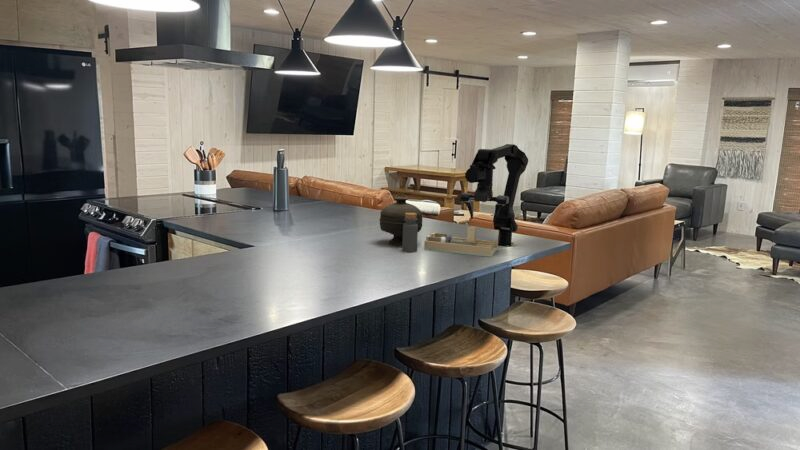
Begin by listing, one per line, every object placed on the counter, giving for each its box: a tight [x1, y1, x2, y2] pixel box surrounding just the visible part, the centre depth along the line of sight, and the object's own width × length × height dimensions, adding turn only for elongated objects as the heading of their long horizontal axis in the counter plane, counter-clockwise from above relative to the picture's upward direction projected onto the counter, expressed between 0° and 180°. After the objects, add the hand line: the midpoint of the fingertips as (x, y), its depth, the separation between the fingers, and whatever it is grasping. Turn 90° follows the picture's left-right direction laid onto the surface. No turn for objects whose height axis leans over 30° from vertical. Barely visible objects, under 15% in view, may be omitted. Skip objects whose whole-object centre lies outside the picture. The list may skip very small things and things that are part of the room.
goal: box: [425, 232, 448, 242], centre depth 238 cm, size 10×6×4 cm, turn 160°
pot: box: [379, 196, 423, 247], centre depth 241 cm, size 18×18×20 cm
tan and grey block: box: [446, 225, 478, 246], centre depth 235 cm, size 5×12×8 cm, turn 70°
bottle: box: [401, 213, 419, 253], centre depth 229 cm, size 6×6×15 cm
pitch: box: [423, 236, 499, 258], centre depth 235 cm, size 14×27×4 cm, turn 70°
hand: (483, 219), depth 233 cm, fingers open, 9 cm apart
